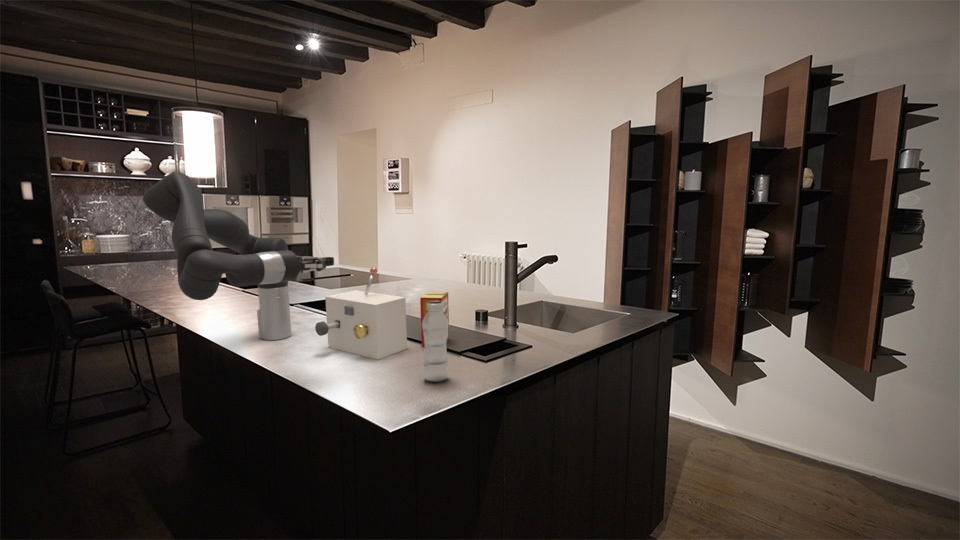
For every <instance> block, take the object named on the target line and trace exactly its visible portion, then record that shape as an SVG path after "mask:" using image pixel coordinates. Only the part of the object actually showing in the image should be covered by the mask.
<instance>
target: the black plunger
mask: <svg viewBox="0 0 960 540" xmlns="http://www.w3.org/2000/svg"><path fill="white" fill-rule="evenodd" d="M339 326H340V322H339V321H338V322H334V323H330V324H327V321H323V320H322V321H319V322H316V324H315V326H314V327H315V332H316V334H317V335H318V336H319V337H321V336H324V335H325V336H326V335H328V330H329V329H332V328H336V327H339Z"/></svg>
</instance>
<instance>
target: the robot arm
mask: <svg viewBox="0 0 960 540" xmlns="http://www.w3.org/2000/svg"><path fill="white" fill-rule="evenodd" d="M142 200H143V203H144V204H145V206H146V207H147V209H149V210H150V211H151V212H152V213H153V214H155V215H157V216H158V217H160V218H162V219H163V220H166V221H168V222H170V223H172V224H173V225H172V228H171V242H172V247H173V250H174V253H175V256H176V262H177V263H176V264H177V265H176V266H177V267H176V269H177V283H178V287H179V289H180V290H181V292H182V293H183V295H184V296H186V297H188V298H190V299H191V300H195V301H205V300H208V299H210V298H212V297H213V296H214V295H215V294H216V293H217V292H218V289H219V286H220V283H221V279H222V277H223V274H224V275H225V277H226V281H227V283H229V284H230V285H231V286H233V287H236V288H237V287H249V286H257V291H258V292H257V293H258V304H259V309H258V310H256V315H257V317H256V318H257V326H258V327H257V329H258V338H259V339H262V340H265V341H277V340H282V339H283V340H284V339H287V338H289V337H291V336H292V323H291V319H292V318H291V307H290V295H289V282H293V281H295V280H296V279H297V278H298V277H299V275H300V274H307V273H309V272H313V271H316V272H322V271H324V270H326V269H327V267H330V266H331V267H332V266H334V264H335V258H334V257H333V256H325V257H318V256H310V255H309V256H308V255H307V256H306V255H305V256H304V255H303V256H300V255H297V254H296V253H295V252H293V251H292V250H289V247H288V243H287V242H286V240H285V239H284V238H280V237H258V236H254V235H252V234H250V229H249V226H248V224H247V223H246V221H244V220H243V219H241V218H240V217H238V216H237V215H235V213H234V214H233V213H232V212H231V211H229V210H225V209H220V208H219V209H217V208H205V207H204V197H203V193H202V191H201V189H200V187H199V186H198V185H197V183H196V182H195V181H194V180H193V179H192V178H190V176H188V175H187V174H185V173H183V172H181V171H173V172H171V173H168V174H167V175H166V176H164V177H163V178H161V179H160V180H158V181H157V182H156V183H154V184H153V185H152V186H150V187H149V188H148V189H147V190H146V191H145V192H144V193H143V196H142ZM210 240H211V241H213V242H215V243H217V244H219V245H221V246H223V247H226V248H227V249H230V250H232V251H234V252H236V253H237V254H232V253H227V252H221V251H215V250H213V246H212V243H211V241H210Z"/></svg>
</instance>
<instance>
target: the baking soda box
mask: <svg viewBox="0 0 960 540" xmlns="http://www.w3.org/2000/svg"><path fill="white" fill-rule="evenodd" d="M419 299H420V301H419V303H420V335H421V348H425V344H424V335H423V328H422V322H423V319H424V318H425V316H426V314H427V313H428V311H427V302H430V301H440V302H442V307H443V310H442V313H443V314H444V315H445V317H446V318H447V320H448V332H447V340H448V339H449V340H450V323H449V321H450V317H449V315H450V313H449V310H450V309H449V291H427V292H426V293H425V294H423V295H422V296H421V297H420V298H419ZM449 340H448V341H449Z"/></svg>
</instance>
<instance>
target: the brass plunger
mask: <svg viewBox="0 0 960 540" xmlns="http://www.w3.org/2000/svg"><path fill="white" fill-rule="evenodd" d="M353 332H354V335H355V337H356V338H358V339H361V338H364V337H366V335H367V332H368V326H367V327H365V326H364V325H363V324H359V325H356V326H354V329H353Z"/></svg>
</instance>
